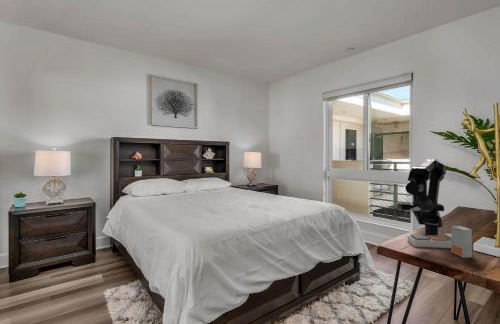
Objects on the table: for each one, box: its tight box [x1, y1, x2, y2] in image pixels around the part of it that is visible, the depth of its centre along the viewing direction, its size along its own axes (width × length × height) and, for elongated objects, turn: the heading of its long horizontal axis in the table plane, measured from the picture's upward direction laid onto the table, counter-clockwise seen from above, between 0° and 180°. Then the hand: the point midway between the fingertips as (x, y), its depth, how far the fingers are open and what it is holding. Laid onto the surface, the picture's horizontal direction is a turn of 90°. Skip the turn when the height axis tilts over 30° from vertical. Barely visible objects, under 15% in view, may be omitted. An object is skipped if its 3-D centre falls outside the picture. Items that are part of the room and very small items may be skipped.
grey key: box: [410, 234, 430, 240], centre depth 126 cm, size 6×6×2 cm
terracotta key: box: [427, 235, 448, 241], centre depth 125 cm, size 6×6×2 cm
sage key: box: [443, 233, 451, 241], centre depth 123 cm, size 6×6×2 cm
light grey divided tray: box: [407, 234, 451, 249], centre depth 125 cm, size 8×23×3 cm, turn 79°
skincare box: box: [450, 225, 473, 259], centre depth 112 cm, size 6×4×12 cm
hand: (420, 224), depth 126 cm, fingers closed
